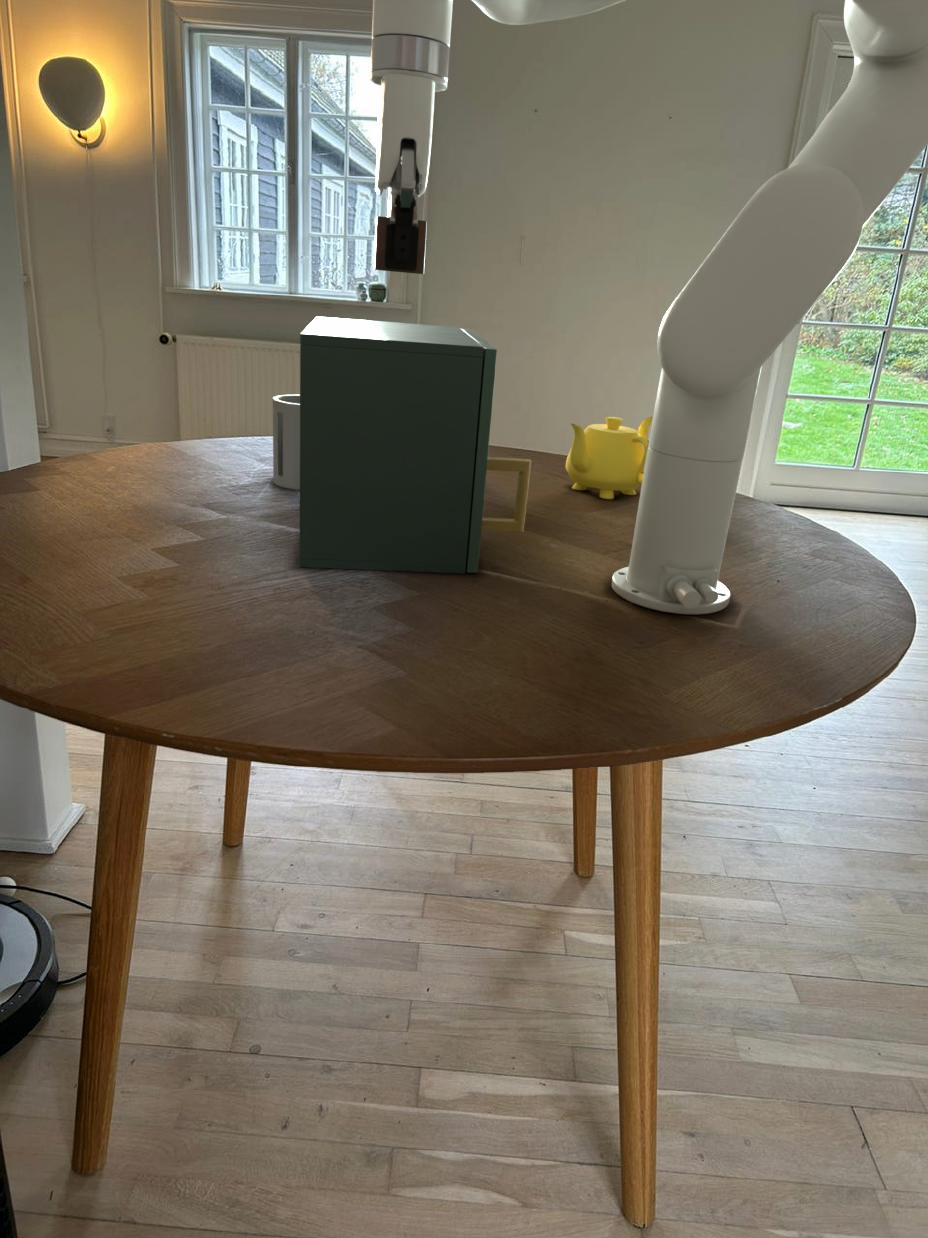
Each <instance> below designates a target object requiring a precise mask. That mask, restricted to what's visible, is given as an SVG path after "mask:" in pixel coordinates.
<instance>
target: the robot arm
mask: <svg viewBox="0 0 928 1238" xmlns="http://www.w3.org/2000/svg"><path fill="white" fill-rule="evenodd" d="M470 1H471V2H473V3H474V4H475V5H476V6H477V7H478V8H479V9H480V10H481V11H482V13H484V15H486V16H487V17H489V18H490V19H492V20H493V21H495V22H498V23H500V24H504V25H512V26H522V25H533V24H539V23H545V22H546V23H547V22H550V21H551V22H552V21H559V20H560V21H561V20H566V19H572V18H577V17H582V16H585V15H589V14H591V13H595V12H599V11H601V10H605V9H606V8H609V7H612V6H614V5H618V4H619V3H623V2H625V1H627V0H470ZM453 5H454V0H372V21H371V23H372V24H371V49H370V50H371V51H370V52H371V55H370V78H369V81H370V82H372V83H373V84H375V85H378V86H380V91H379V102H378V103H379V104H378V115H377V131H376V132H377V135H376V159H375V185H374V187H375V188H374V191H375V192H376V194H377V195H378V196H382V195H383V192H384V190H387V189H388V196H387V216H386V217H390V225H387V235H386V256H385V266H386V267H387V268H388V269H398V270H409V271H414V270H416V268H417V255H418V238H419V228H417V223H418V220H419V200H420V199H419V198H420V197H421V196H422V195H424V194H425V193H426V190H427V184H428V177H429V170H430V161H431V153H432V152H431V151H432V142H433V129H434V128H433V126H434V111H435V98H436V97H435V95H436V93H439V92H443V91H446V90H448V81H449V68H450V67H449V65H450V48H451V35H452V20H453V7H454V6H453ZM843 23H844V29H845V32H846V35H847V38H848V41H849V44H850V47H851V50H852V54H853V60H854V61H853V62H854V63H853V64H854V65H853V71H852V75H851V78H850V81H849V83H848V85H847V88H846V89H845V90H844V92H843V93H842V95H841V96H840V97H839V99H838V100H837V102H836V103H835V104H834V106H832V108H831V109H830V110H829V112H828V113H827V114H826V116H825V117H824V118H823V119H822V121H821V122H820V124H819V126H818V127H817V128H816V131H815V132H814V133H813V135H812V136H811V138H810V139H809V140H808V141H807V142H806V144H805V145H804V146H803V148H802V149H801V150H800V152H799V153H798V155H797V156H796V157H795V158H794V159H793V160H792V162H791V163H790V164H789V166H787V168H785V169H784V170H781V171H779V172H778V173H776V174H775V175H773V176H771V177H770V178H768V179H767V180H766V181H765V182H764V183H763V184H761V186H759V188H758V189H757V190H756V192H754V194H753V195H752V196H751V197H750V199H749V200H748V201H747V203H746V204H745V205H744V206H743V207H742V209H741V210H740V212H739V213H738V214H737V216H736V217H735V218H734V220H733V221H732V222H731V224H730V225H729V227H728V228H727V229H726V230H725V232H724V233H723V234H722V236H721V237H720V238H719V240H718V241H717V242H716V243H715V246H713V248H712V249H711V251H710V252H709V253H708V254H707V256H706V257H705V259H704V260H702V261H703V262H701V264H700V266H698V268H697V269H696V270H695V272H694V274H693V275H692V276H691V277H690V278H689V280H688V282H687V283H686V284H685V285H684V287H683V288H682V289H681V291H680V292H679V294H678V295H677V296H676V297H675V299H674V300H673V301H672V303H671V304H670V306H668V309H667V310H666V311H665V313H664V316H663V318H662V320H661V322H660V326H659V329H658V333H657V340H656V341H657V342H656V348H657V349H656V350H657V356H658V360H659V363H660V365H661V366H660V367H661V370H660V375H659V380H658V381H659V382H658V387H657V392H656V393H657V394H656V396H655V397H656V398H655V404H654V409H653V413H652V414H653V415H652V417H653V420H652V423H651V425H650V432H649V437H648V438H649V439H648V440H649V445H648V450H647V455H646V462H645V468H644V474H643V480H642V485H641V487H640V493H639V500H638V506H637V512H636V519H635V525H634V532H633V537H632V545H631V549H630V557H629V563H628V566H626V567H622V568H620V569H618V570H616V571H615V572H614V573H613V574H612V578H611V585H610V586H611V589H612V590H613V591H614V592H615V593H616V594H617V595H618V596H619V597H620V598H622V599H624V600H625V601H628V602H630V603H632V604H634V605H637V606H640V607H643V608H645V609H646V608H647V609H649V610H654V611H658V612H663V613H670V614H678V615H694V616H695V615H696V616H697V615H708V614H714V613H717V612H721V611H722V610H724V609H725V608H727V606H728V605H729V603H730V598H731V592H730V590H729V589H728V588H727V586H726V585H725V584H723V583H722V582H721V581H719V578H720V572H721V567H722V562H723V557H724V554H725V553H724V552H725V548H726V543H727V538H728V534H729V528H730V525H731V524H730V523H731V517H732V514H733V509H734V503H735V500H736V494H737V490H738V484H739V480H740V476H741V475H740V474H741V469H742V463H743V460H744V457H745V453H746V447H747V442H748V437H749V432H750V427H751V422H752V416H753V412H754V407H755V402H756V396H757V392H758V389H759V388H758V387H759V384H760V383H759V382H760V376H761V372H762V368H763V365H764V364H765V363H766V361H767V360H768V359H769V358H770V357H771V356H772V355H773V354H774V352H775V351H776V350H777V349H778V347H780V345H781V344H782V343H783V342H784V341H785V339H786V338H787V337H788V336H789V335H790V334H791V332H792V331H793V330H794V329H795V327H796V326H797V325H798V324H799V323H800V322H801V320H802V319H803V318H804V316H805V315H807V313H808V312H809V311H810V309H811V308H812V307H813V306H814V305H815V304H816V302H817V301H818V300H819V299H820V297H821V296H822V295H823V294H824V293H825V291H826V290H827V289H828V288H829V287H830V285H832V283H833V282H834V281H835V280H836V278H837V277H838V275H839V274H840V273H841V272H842V270H844V268H845V266H846V265H847V264H848V263H849V261H850V259H851V258H852V256H853V255H854V253H855V251H856V249H857V247H858V245H859V243H860V240H861V237H862V233H863V230H864V227H865V226H866V224H867V223H868V222H869V220H870V219H871V217H873V216H874V214H875V213H876V211H877V210H878V209H879V208H880V207H881V205H882V204H883V203H885V201H886V199H888V198H889V196H890V194H892V192H893V191H894V189H895V188H896V187H897V185H898V184H899V182H900V181H901V180H902V178H903V177H904V176H905V174H906V173H907V172H908V171H909V169H911V167H912V165H913V164H914V163H915V162H916V160H917V159H918V158H919V156H921V154H922V152H923V151H924V150H925V149H926V147H927V145H928V0H844V6H843ZM391 225H392V226H391ZM412 227H413V228H412Z"/></svg>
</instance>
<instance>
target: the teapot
mask: <svg viewBox="0 0 928 1238" xmlns="http://www.w3.org/2000/svg"><path fill="white" fill-rule="evenodd" d="M652 420H653V416H649V417H646V418H645V419H643V420H642V422H641V423H640V425H639V427H638V429H636V428H632V427H629V426H624V425H622V424H623V421H624V419H623V418H621V417H616V416H607V417H605V423H592V424H589V425H588V426H587V427H586V428H583V426H581V425H578V424H575V423H571V424H570V425H571V427H572V428H573V432H574V436H573V441H572V446H571V448H570V450H569V452H568V453H567V454H568V455H567V457H566V461H565V470H566V472H567V475H568V476H569V477H570V479H571V480H572V481H573V482H574V484H573V485H572V487H571V489H573V490H576V491H586V490H587V489H588V487H589V488H592V489H598V490H599V494H598V497H599V498H602V499H606V500H613V499H614V498H615V496H614V495H615V494H614V493H615V491H621V493H622V494H623V495H629V496H635V495H637V492H636V491H635V489H638V488H639V487H640V486H642V480H643V474H644V468H645V462H646V455H647V450H648V445H649V439H648V438H649V437H648V436H649V435H648V434H649V430H650V428H651V426H652Z"/></svg>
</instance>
